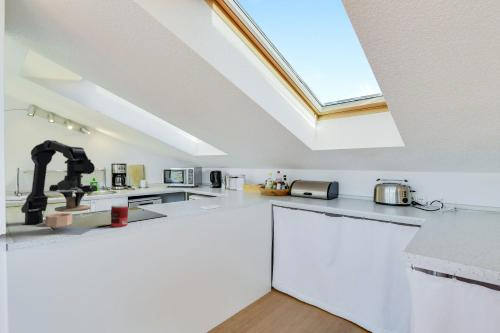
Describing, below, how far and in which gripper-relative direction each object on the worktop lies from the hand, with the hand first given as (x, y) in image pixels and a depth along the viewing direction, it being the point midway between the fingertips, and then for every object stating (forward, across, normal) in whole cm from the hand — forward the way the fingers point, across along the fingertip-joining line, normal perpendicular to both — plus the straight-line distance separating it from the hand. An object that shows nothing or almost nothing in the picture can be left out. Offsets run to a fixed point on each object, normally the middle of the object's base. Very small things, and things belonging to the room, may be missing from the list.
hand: (73, 206), depth 122 cm
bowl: (+12, -14, +12) cm, 21 cm away
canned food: (+12, +17, +10) cm, 23 cm away
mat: (+12, 0, 0) cm, 12 cm away
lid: (+1, 0, 0) cm, 1 cm away
